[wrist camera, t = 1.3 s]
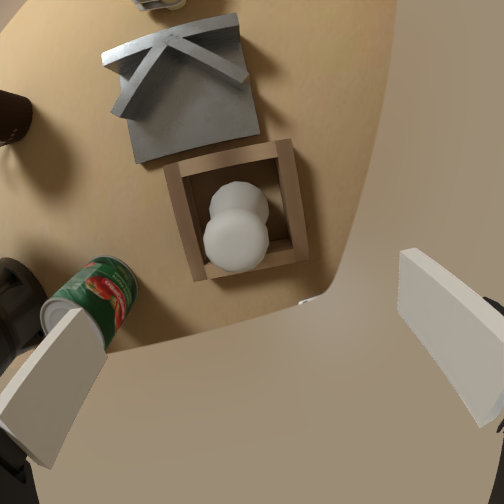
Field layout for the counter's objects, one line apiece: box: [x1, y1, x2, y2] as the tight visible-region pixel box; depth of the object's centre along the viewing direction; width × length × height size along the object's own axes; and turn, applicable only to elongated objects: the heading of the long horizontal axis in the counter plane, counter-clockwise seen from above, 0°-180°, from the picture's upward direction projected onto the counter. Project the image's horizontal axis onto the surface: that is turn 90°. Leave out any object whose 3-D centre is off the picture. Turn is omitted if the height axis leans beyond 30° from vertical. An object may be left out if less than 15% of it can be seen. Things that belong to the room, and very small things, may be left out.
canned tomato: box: [40, 255, 138, 351], centre depth 28 cm, size 8×8×11 cm
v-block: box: [102, 13, 260, 164], centre depth 23 cm, size 13×12×5 cm
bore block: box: [163, 139, 310, 282], centre depth 28 cm, size 12×12×4 cm
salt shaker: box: [203, 181, 269, 273], centre depth 24 cm, size 6×6×13 cm
